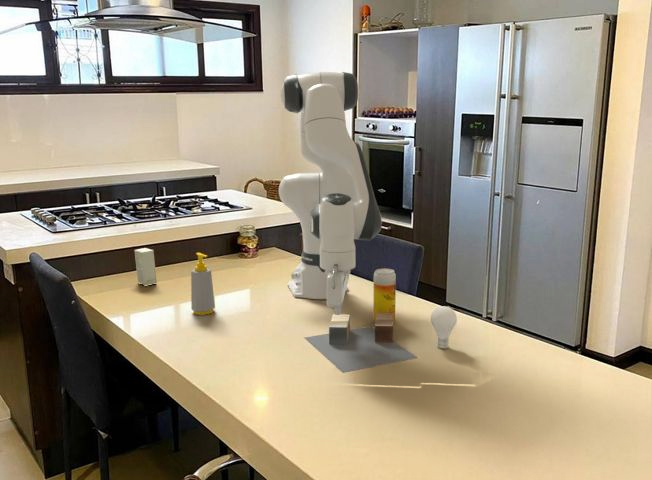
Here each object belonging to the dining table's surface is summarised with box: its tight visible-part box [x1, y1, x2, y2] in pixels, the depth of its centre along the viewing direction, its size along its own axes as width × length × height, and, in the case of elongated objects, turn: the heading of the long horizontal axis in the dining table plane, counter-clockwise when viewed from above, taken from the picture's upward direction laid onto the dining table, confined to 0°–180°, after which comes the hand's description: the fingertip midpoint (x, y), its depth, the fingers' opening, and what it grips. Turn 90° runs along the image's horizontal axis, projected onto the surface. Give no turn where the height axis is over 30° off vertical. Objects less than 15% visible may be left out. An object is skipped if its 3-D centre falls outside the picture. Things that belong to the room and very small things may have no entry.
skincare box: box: [134, 247, 158, 285], centre depth 216 cm, size 6×4×12 cm
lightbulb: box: [430, 305, 458, 350], centre depth 156 cm, size 6×6×11 cm
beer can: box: [372, 268, 397, 323], centre depth 175 cm, size 6×6×15 cm
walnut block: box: [374, 313, 394, 343], centre depth 165 cm, size 4×4×10 cm
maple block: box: [328, 313, 351, 345], centre depth 165 cm, size 4×4×10 cm
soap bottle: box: [190, 252, 216, 316], centre depth 185 cm, size 7×7×18 cm
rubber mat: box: [304, 325, 419, 374], centre depth 158 cm, size 24×20×1 cm
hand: (338, 313), depth 159 cm, fingers closed
